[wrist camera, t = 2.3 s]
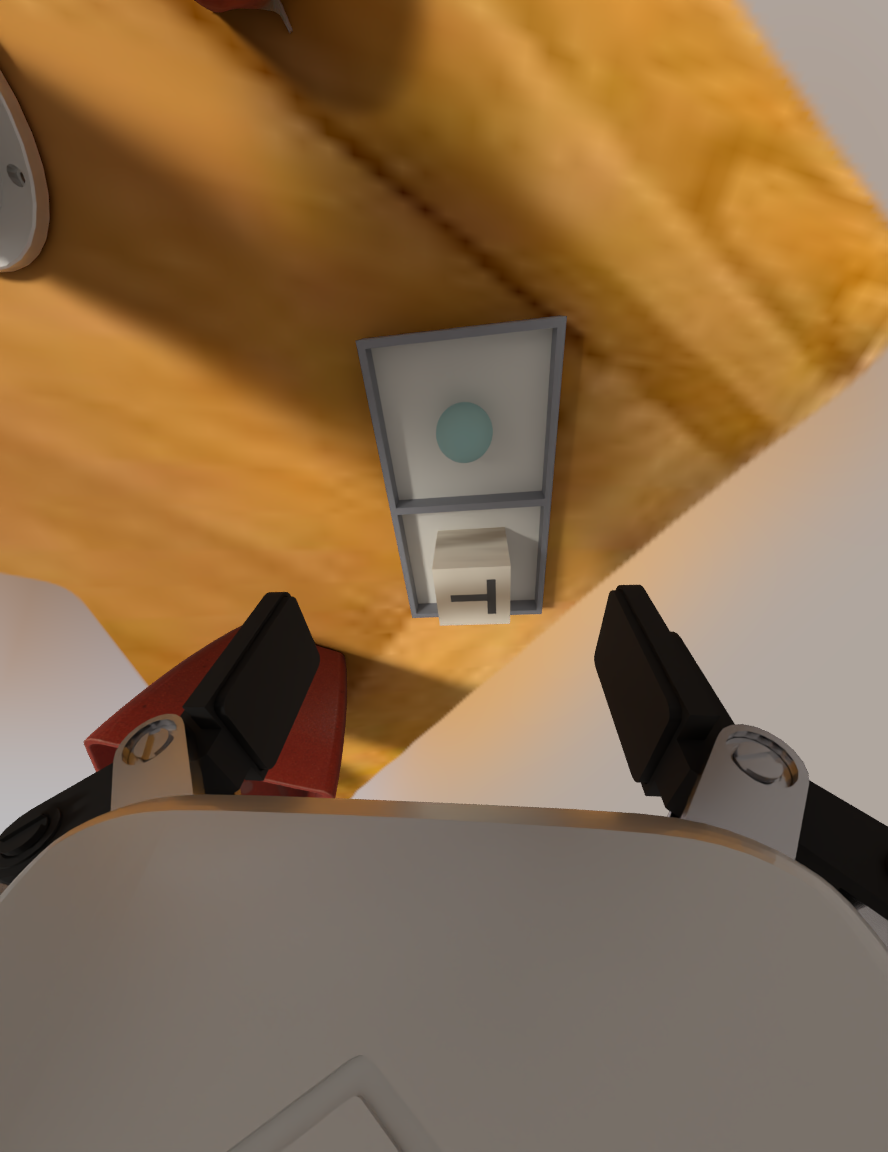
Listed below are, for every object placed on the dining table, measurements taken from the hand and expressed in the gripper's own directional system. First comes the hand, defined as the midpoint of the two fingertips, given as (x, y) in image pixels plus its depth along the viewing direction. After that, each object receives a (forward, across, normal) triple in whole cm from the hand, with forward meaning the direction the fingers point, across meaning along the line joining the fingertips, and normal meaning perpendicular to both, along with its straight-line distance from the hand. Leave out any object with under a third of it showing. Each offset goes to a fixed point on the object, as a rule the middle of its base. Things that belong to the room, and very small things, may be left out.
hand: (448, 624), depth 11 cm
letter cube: (+21, 0, +11) cm, 23 cm away
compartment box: (+21, 0, +5) cm, 22 cm away
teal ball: (+20, 0, -1) cm, 21 cm away
